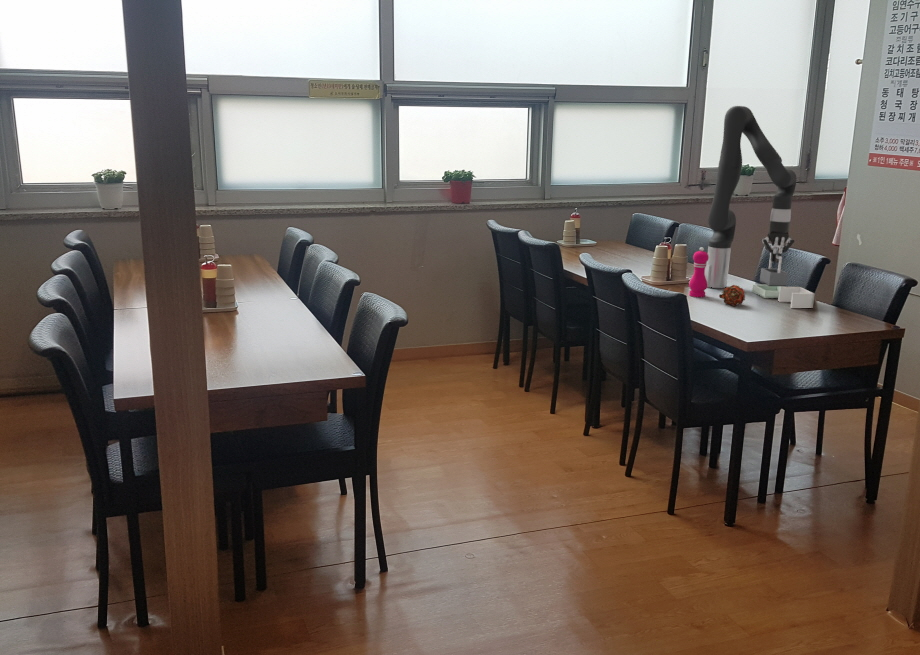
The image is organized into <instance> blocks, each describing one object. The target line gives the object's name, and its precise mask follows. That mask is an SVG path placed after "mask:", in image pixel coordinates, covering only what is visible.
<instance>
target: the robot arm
mask: <svg viewBox="0 0 920 655" xmlns="http://www.w3.org/2000/svg"><path fill="white" fill-rule="evenodd" d="M742 134H743V135H744V136H745V138H747V140H748V141H749V143H750V145H751V147H752V149H753V152H754V154H755V156H756V158H757V159H758V161H759V162H760V164H761V165H762V166H763V167H764V169H765V170H766V171H767V174H768V177H769V178H770V179H771V180H770V181H771V182H772V183H773V184H774V186H776V187H777V190H776V193H775V194H774V195H773V198H772V207H771V211H770V217H769V218H770V219H769V228H768V234H767V235H766V237H765V238H761V243H762V244H763V247H764V248H765V250H766V251H767V252H769V253H771V259H770V258H769V261H770V260H771V261H772V264H774V263H777V264H778V263H779V259H777V258H776V255H778V256H781V257H782V254H783V253H786V252H788V250H789V249H790V248H791V246H792V245H793V244H794V243H795V240H794V239H792V238H791V237H790V235H789V232H790V224H791V216H792V202H793V199H792V198H793V196H794V194H795V189H796V185H797V181H798V180H797V178H798V177H797V174H796V173H795V171H793V170H792V169H786V167H785V165H784V164H783V159H782V157H781V156H780V154H779V152H777V150H776V149H775V148H774V146H773V145H772V144H771V141H769V140H768V139H767V137H766V136H765V133H763V130H762V129H761V127H760V125H759V123H758V121H757V119H756V117H755V115H754V113H753V111H752V110H751V109H750V108H749V107H747V106H743V105H734V106H731V107H729V108H728V110H727V111H726V112H725V114H724V121H723V135H722V136H723V137H722V144H721V150H720V156H719V162H718V166H717V173H716V179H715V180H716V182H715V187H714V193H713V198H712V203H711V207H710V210H709V213H708V218H707V223H708V224H707V225H708V226H709V229H711V231H713V234H712V235H711V237H710V238H709V240H708V248H707V254H708V256H709V259H708V261H707V262H706V264H707V265H706V267H705V278H706V280H707V288H711V287H712V289H725V287H726V288H727V287H728V279H729V278H728V276H729V269H730V267H729V266H730V258H731V249H732V243H733V242H734V238H735V232H736V225H737V218H736V214H735V213H734V211H733V210H731V209H730V203H731V199H732V196H733V195H734V192H735V191H736V188H737V186H738V185H739V181H740V179H741V174H742V168H743V155H742V154H743V153H742V146H741V141H742V136H743V135H742ZM769 242H770V244H769Z"/></svg>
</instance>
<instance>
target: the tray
mask: <svg viewBox="0 0 920 655" xmlns="http://www.w3.org/2000/svg"><path fill="white" fill-rule="evenodd" d="M780 287H782V286H768V285H766V284H752V289H751V292H752V291H753V293H754V294H756V295H757V294H758V296H759V295H760V296H759V297H761V298H762V299H764V298H778V299H779V291H780ZM778 299H777V300H778Z"/></svg>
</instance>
